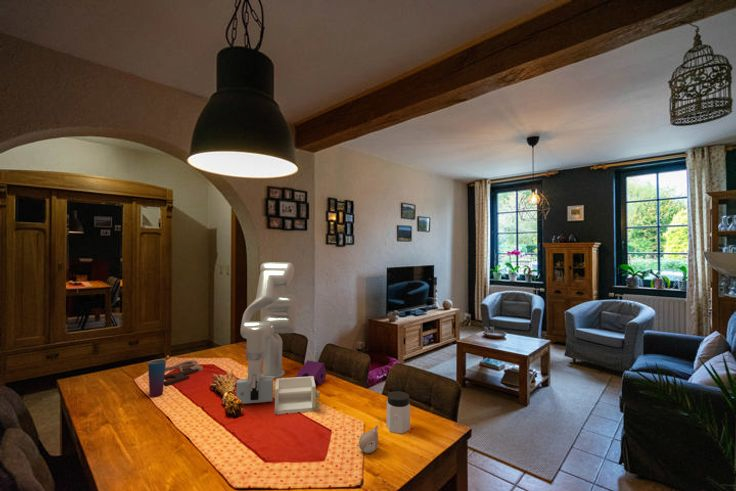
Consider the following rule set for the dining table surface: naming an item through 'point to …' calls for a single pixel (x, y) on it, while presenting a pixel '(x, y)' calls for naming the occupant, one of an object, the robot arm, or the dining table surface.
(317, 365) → the mounting bracket
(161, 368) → the cup
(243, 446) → the dining table surface
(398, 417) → the jar
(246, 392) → the door
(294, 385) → the cabinet
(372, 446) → the garlic bulb
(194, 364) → the wood carving
